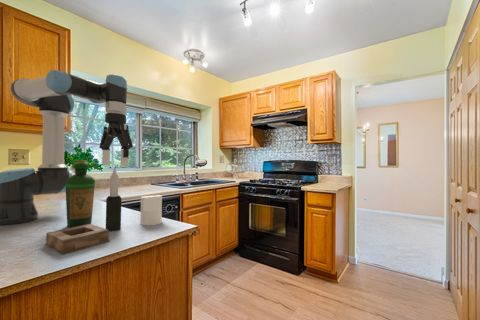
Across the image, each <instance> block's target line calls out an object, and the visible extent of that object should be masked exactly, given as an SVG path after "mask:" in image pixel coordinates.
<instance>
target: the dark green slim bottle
mask: <svg viewBox="0 0 480 320" xmlns="http://www.w3.org/2000/svg"><path fill="white" fill-rule="evenodd" d="M109 185H110V186H109V195H108V196H107V197H106V200H105V201H106V202H105V205H106V206H105V229H108V230H109V232H114V231H119V230H121V229H122V197H121V195H119V175H118V174H117V169H116V168H115V167H114V168H113V170H112V174H111V175H110V181H109Z"/></svg>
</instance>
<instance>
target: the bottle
mask: <svg viewBox="0 0 480 320" xmlns="http://www.w3.org/2000/svg"><path fill="white" fill-rule="evenodd" d="M86 161H87V160H86V159H76V162H74V165H73V169H74V173H75V174H72V175H73V176H71V177H69V178H68V179H67V181H66V182H65V186H66V192H65V202H66V203H65V208H66V224H67V225H66V226H67V227H68V228H72V227H77V226H82V225H87V224H92V220H93V219H92V218H93V210H94V209H93V207H94V199H95V198H94V197H95V186H96V180H95V179H94V177H93V176H91V175H90V174H87V173H88V172H87V171H88V169H89V163H88V162H86Z"/></svg>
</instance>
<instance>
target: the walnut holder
mask: <svg viewBox="0 0 480 320" xmlns="http://www.w3.org/2000/svg"><path fill="white" fill-rule="evenodd" d="M109 232H110V231H109V230H108V229H106V228H104V227H101V226H99V225H95V224H92V223H91V224H87V225H82V226H77V227H68V228H62V229H58V230H54V231H48V232H46V238H45V239H46V240H45V241H46V243H44V246H45V247H48V248H49V249H51V250H53V251H55V252H56V253H59V254H61V255H67V254H71V253H73V252H77V251H81V250H84V249H87V248H91V247H94V246H99V245H103V244H105V243H108V242H110V239H109Z"/></svg>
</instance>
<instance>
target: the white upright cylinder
mask: <svg viewBox="0 0 480 320" xmlns="http://www.w3.org/2000/svg"><path fill="white" fill-rule="evenodd" d="M162 203H163V195H161V194H158V195H145V196H141V197H140V220H139V221H140V223H139V224H140V225H142V226H156V225H159V224H161V223H162V218H163V217H162V216H163V215H162V214H163V212H162V211H163V208H162V206H163V204H162Z"/></svg>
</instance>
